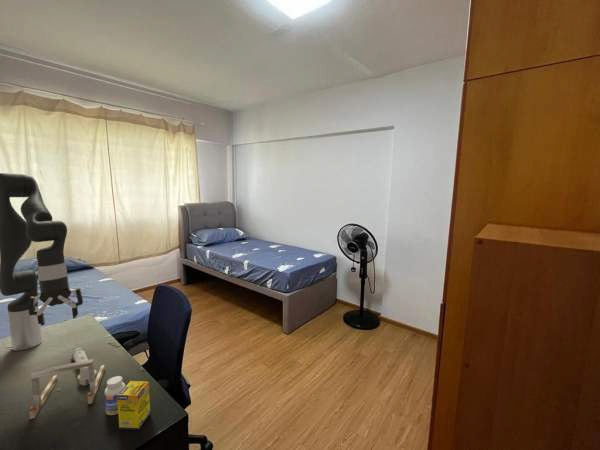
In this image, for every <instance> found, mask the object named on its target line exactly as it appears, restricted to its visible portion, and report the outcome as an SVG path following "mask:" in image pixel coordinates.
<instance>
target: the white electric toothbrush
mask: <svg viewBox="0 0 600 450" xmlns="http://www.w3.org/2000/svg"><path fill="white" fill-rule="evenodd" d="M71 359H72V360H74V363H76V362H81V361H86V360H89V359H88V356H87V353H86V349H84V348H83V347H80V346H78V347H76V348H73V350H71ZM78 370H79V374H78V375H77V380H78V381H79V386H88V385H90V381H89V368H88V367H84V368H79V369H78ZM94 372H95V380H96V377H97V375H98V371H97V369H94Z"/></svg>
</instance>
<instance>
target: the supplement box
mask: <svg viewBox="0 0 600 450" xmlns="http://www.w3.org/2000/svg"><path fill="white" fill-rule="evenodd" d="M117 400H118V414H117V415H118V429H119V430H122V431H123V430H124V431H126V430H127V431H128V430H129V431H139V430H140V429H141V427H142V426H143V425H144V423H145V421H146V420H148V418H149V417H150V415H151V405H150V403H151V401H150V382H149V381H144V380H143V381H140V380H139V381H136V380H130V381H129V382H128V383H127V384H126V385H125V388H124V389H123V390H122V391H121V392H120V393H119V394H118V395H117Z"/></svg>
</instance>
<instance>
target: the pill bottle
mask: <svg viewBox="0 0 600 450" xmlns="http://www.w3.org/2000/svg"><path fill="white" fill-rule="evenodd" d="M125 387H126V384H125V382H124V381H123V377H122V376H121V375H117V376H113V377H110V378H108V380H107V381H106V388H105V390H104V405H105V408H104V409H105V410H104V411H105V414H106V415H107V416H115V415H118V400H117V395H118V394H119V393H120V392H121V391H122V390H123V389H124V388H125Z"/></svg>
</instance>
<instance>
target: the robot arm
mask: <svg viewBox="0 0 600 450" xmlns="http://www.w3.org/2000/svg"><path fill="white" fill-rule="evenodd" d="M11 198H25V200H24V201H23V202H22V204H21V206H20V212H21V215H22V216H21V215H20V214H19V213H18V212H17V211H16V209H15V207H13V205H12V202H11ZM67 234H68V228H67V224H66V223H65V222H64V221H62V220H53V216H52V214H51V212H50V211H49V209H48V208H47V207H46V205H45V202H44V200H43V197H42V193H41V191H40V188H39V185H38V182H37V180H36V179H35V178H34V177H33V176H32V175H31V174H22V173H21V174H19V173H3V172H0V293H1V295H2V296H5V297H8V296H9V297H10V296H15V295H18V294H22V295H21V296H20V297H18V298H16V299H14V300H13V301H11V302H9V303H8V304H7V316H8V323H9V331H10V339H11V340H10V341H11V350H12V351H15V352H17V351H25V350H28V349H29V350H30V349H32V348H34V347H36V346H38V345H40V344H41V343H42V341H43V339H42V331H41V330H42V329H41V326H44V325H45V324H46V321H45V314H44V311H45V309H46V308H47V307H48V306H49V307H54V306H56V305H57V306H59V305H63V304H64V303H65V304H66V305H67V306H70V307H71V312H72V318H73V319H76V318H77V316H78V315H79V310H78V307H79V306H81V305H83V304H84V299H83V295H82V291H81V288H80V287H78V288H76V289H72V290H71V289H70V286H69V279H68V269H67V266H66V262H65V253H64V248H65V244H66V239H67ZM50 241H51V242H52V241H53V242H52V244H51V245H50V246H48V247H43V248H40V249H38V250H37V251H36V262H37V273H36V272H35V271H34V270H31V269H28V270H22V271H17V272H14V270H15V267H16V265H17V263H18V261H20V259H21V258H22V257H23V256H24V254H25V253H27V251H28V250H29V248H30V247H31V244H32V242H33V243H34V242H35V243H43V242H50ZM38 283H39V289H38ZM38 290H39V292H40V294H39V293H38ZM71 294H73V295H74V296H76V299H77V302H75V301H74V300H73V299H71V298H70V296H71ZM39 300H40V302H42V303H43V304H42V306H41V307H40V309H39Z"/></svg>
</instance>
